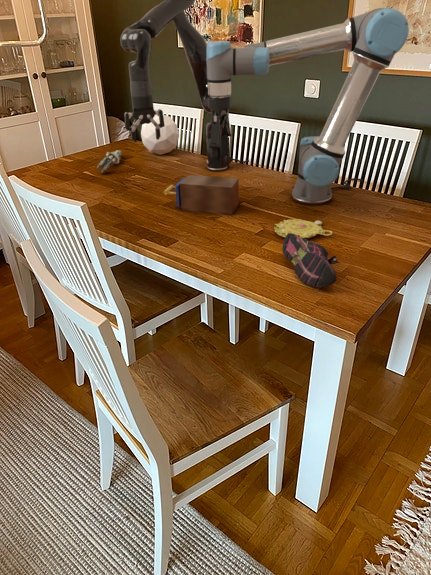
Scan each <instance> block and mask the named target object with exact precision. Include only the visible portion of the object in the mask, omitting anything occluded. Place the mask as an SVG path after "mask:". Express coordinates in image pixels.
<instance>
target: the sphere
mask: <svg viewBox="0 0 431 575" xmlns="http://www.w3.org/2000/svg"><path fill="white" fill-rule="evenodd" d="M163 117H164V125H165V126H164V127H162V128H160V138H159V140H157V139H156V132H155V128H156V127H155V126H154V125H153V124H152V123H151V122H150V123H149V124H146V123H145V124H141V129H140V137H141V141H142V145H143V146H144V147H145V148H146V149H147V150H148V151H149V152H150V153H153V154H155V155H156V154H157V155H160V156H161V155H164V154H169V153H171V152H172V151H173V150H174V149H175V148H176V147H177V146H178V142H179V137H180V132H179V128H178V125H177V123H176V122H175V121H174V119H172V118H171V116H169V115H165V114H163ZM153 119H154V120H155V122H156V123H157V124H160V121H159V116H157V114H155V116H154V118H153Z"/></svg>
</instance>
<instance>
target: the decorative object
mask: <svg viewBox="0 0 431 575" xmlns="http://www.w3.org/2000/svg"><path fill="white" fill-rule="evenodd" d="M322 225H323V221H321V220H314V222H313V221H310V220H304V219H303V218H292V219H283V221H279V223H274V227H273V229H274V233H276V234H277V236H279V237H282V238H285V237H286V235H287V234H288V233H293V234H296V235H297V236H299V237H300V238H303V239H310V238H313V237H315V236H317V235H319V236H320V235H321V236H325V237H329V236H331V235H333V231H332V230H325V229H323V227H322ZM326 233H327V234H326Z"/></svg>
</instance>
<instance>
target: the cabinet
mask: <svg viewBox="0 0 431 575" xmlns="http://www.w3.org/2000/svg"><path fill="white" fill-rule="evenodd" d="M184 178H185V179H184V180H183V181H182V182H181V183H180V194H181V206H180V209H181V211H185V212H195V213H206V214H207V213H208V214H218V215H227V216H232V215H233V214H234V212H235V211H236V210H237V208H238V206H239V203H240V201H239V200H240V199H239V198H240V195H239V193H240V192H239V190H240V189H239V183H240V181H239V180H240V178H238V177H226V176H214V175H213V176H211V175H199V174H198V175H197V174H188V175H187V176H186V177H184Z"/></svg>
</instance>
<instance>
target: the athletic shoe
mask: <svg viewBox="0 0 431 575" xmlns="http://www.w3.org/2000/svg"><path fill="white" fill-rule="evenodd" d="M285 236H286V237H284V240H283V243H282V254H283V255H284V258H285V259H286V260H287V261H289V262H290V263H292V264H293V266H294V271H295V272H294V273H295V274H296V276H297V277H298V278H299V280H300V281H301V282H302V283H303V284H305V285H307V286H311V287H316V288H324V287H327V286H332V285H333V284H335V283H336V281H337V278H338V277H337V273H336V271H335V269H334V268H333V265H335V264H341V262H339V261H338V260H339V259H338V258H337V256H336V255H332V256H331V257H329V252H328V250H327V249H326V248H325V247H324V246H322V245H321V244H319V243H317V242H315V241H311V240H308V239H307V238H305V239H303V238H300V236H297V235H296V234H293V233H288V234H287V235H285Z"/></svg>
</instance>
